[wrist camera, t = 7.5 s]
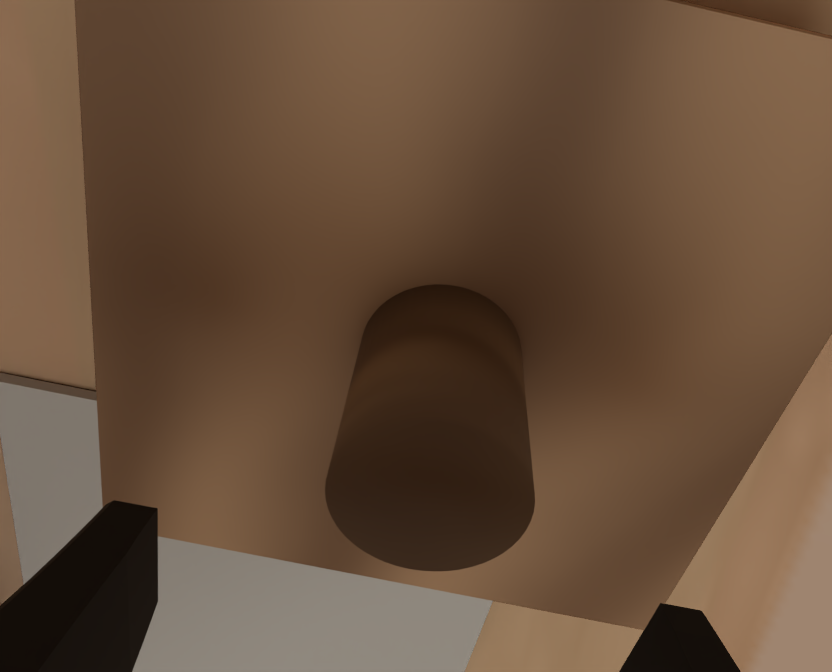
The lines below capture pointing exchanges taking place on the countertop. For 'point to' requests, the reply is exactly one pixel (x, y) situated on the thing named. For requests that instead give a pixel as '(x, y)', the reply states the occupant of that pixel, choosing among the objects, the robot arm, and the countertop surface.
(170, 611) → the mat
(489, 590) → the lid
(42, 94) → the countertop surface
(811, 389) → the countertop surface
